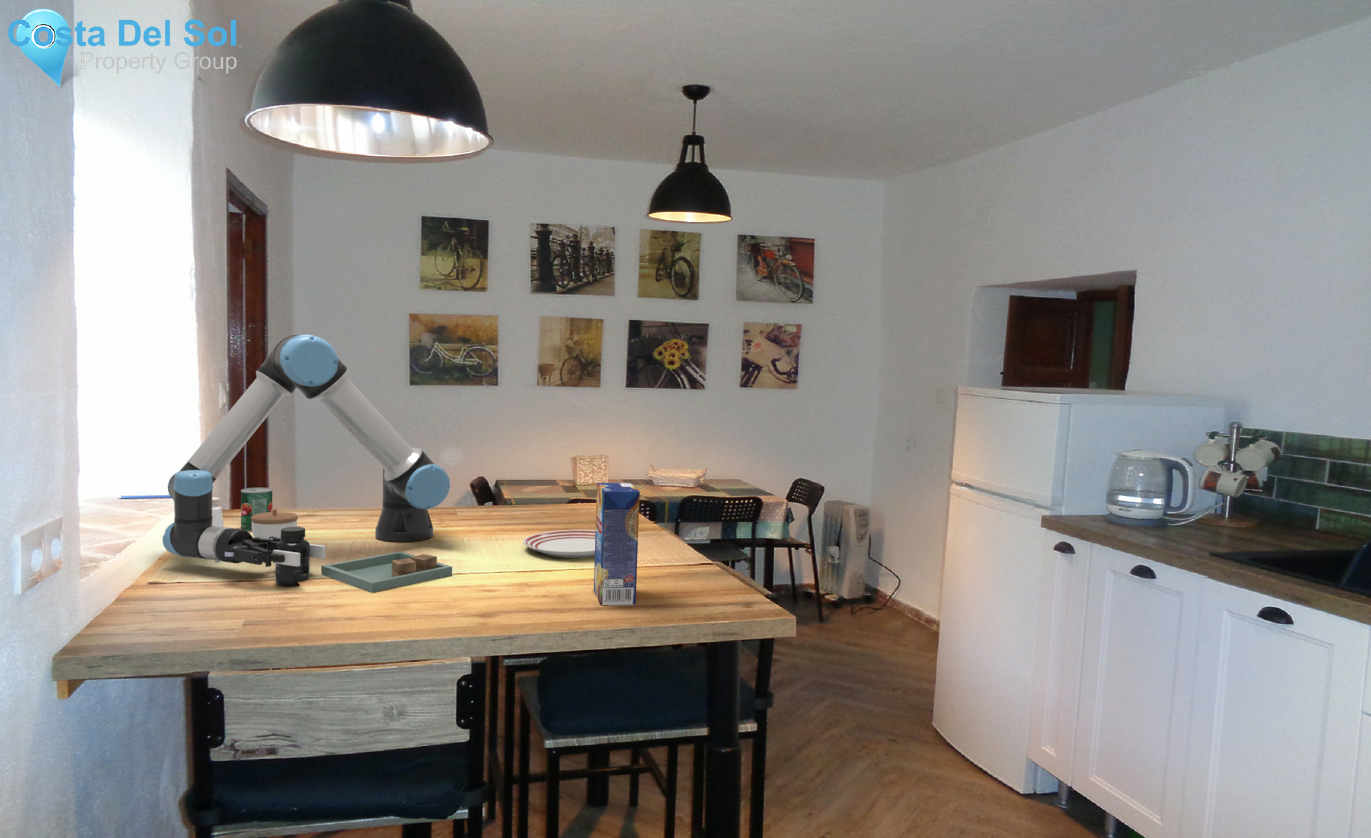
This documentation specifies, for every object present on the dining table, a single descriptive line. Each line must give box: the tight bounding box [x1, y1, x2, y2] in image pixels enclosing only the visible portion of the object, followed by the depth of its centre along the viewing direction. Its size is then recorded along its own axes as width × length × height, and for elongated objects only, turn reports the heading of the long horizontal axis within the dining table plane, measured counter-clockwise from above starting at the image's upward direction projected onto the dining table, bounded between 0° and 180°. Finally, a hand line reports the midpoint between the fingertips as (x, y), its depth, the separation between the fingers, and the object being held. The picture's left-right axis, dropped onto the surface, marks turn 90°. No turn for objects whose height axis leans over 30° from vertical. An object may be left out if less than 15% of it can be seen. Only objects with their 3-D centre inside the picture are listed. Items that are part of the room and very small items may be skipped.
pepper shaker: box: [212, 496, 225, 527], centre depth 222 cm, size 5×5×11 cm
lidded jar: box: [251, 508, 299, 539], centre depth 219 cm, size 11×11×9 cm
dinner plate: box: [522, 529, 596, 559], centre depth 227 cm, size 27×27×3 cm
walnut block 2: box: [411, 553, 438, 572], centre depth 193 cm, size 4×4×4 cm
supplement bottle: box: [274, 526, 311, 588], centre depth 186 cm, size 7×7×12 cm
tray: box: [320, 550, 453, 594], centre depth 192 cm, size 20×20×3 cm
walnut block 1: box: [392, 558, 416, 577], centre depth 189 cm, size 4×4×4 cm
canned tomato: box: [240, 487, 273, 533], centre depth 237 cm, size 8×8×11 cm
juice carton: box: [593, 482, 641, 606], centre depth 184 cm, size 12×8×24 cm, turn 13°
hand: (311, 556), depth 184 cm, fingers closed on supplement bottle, 7 cm apart
